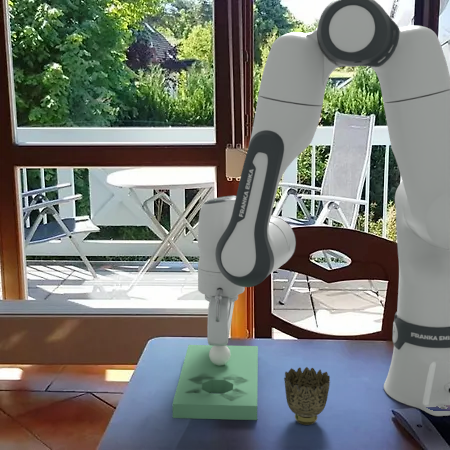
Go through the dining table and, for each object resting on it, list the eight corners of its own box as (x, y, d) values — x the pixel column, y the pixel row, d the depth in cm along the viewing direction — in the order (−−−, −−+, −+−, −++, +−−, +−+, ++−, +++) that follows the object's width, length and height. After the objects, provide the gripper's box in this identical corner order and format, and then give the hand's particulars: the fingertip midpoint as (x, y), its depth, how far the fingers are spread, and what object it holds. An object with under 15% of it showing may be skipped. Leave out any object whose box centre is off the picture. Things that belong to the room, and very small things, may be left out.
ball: (230, 339, 129) (229, 352, 125) (231, 357, 130) (230, 370, 127) (209, 339, 129) (207, 351, 125) (210, 357, 131) (208, 369, 127)
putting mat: (257, 357, 138) (257, 346, 137) (257, 420, 112) (257, 406, 112) (188, 356, 138) (188, 344, 138) (172, 417, 113) (172, 403, 112)
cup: (327, 434, 108) (329, 387, 106) (280, 430, 109) (281, 383, 107) (329, 412, 115) (331, 368, 113) (286, 408, 116) (287, 364, 115)
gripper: (235, 298, 118) (234, 373, 121) (240, 267, 138) (239, 332, 141) (199, 297, 118) (199, 372, 121) (209, 266, 138) (209, 331, 141)
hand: (221, 350), depth 131 cm, fingers closed
